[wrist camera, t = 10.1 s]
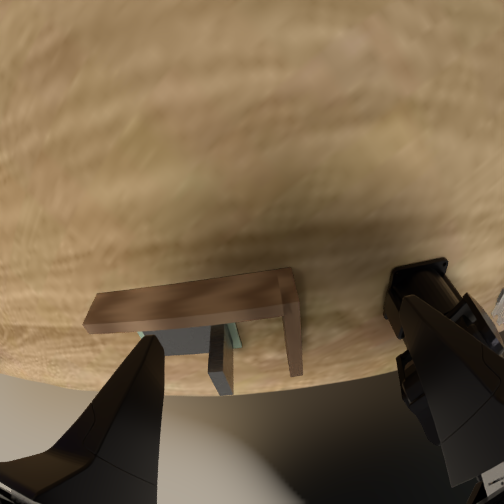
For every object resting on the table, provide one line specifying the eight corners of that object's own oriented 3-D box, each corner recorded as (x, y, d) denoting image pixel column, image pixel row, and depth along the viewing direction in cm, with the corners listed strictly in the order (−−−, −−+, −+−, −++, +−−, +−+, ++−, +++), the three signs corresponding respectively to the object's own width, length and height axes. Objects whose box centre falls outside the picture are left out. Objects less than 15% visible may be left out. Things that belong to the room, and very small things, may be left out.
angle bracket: (224, 315, 26) (222, 371, 21) (233, 342, 28) (233, 394, 23) (144, 323, 26) (130, 375, 21) (158, 348, 28) (149, 397, 23)
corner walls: (290, 267, 23) (299, 301, 20) (297, 343, 29) (303, 375, 26) (97, 293, 24) (82, 324, 21) (138, 358, 30) (131, 387, 27)
